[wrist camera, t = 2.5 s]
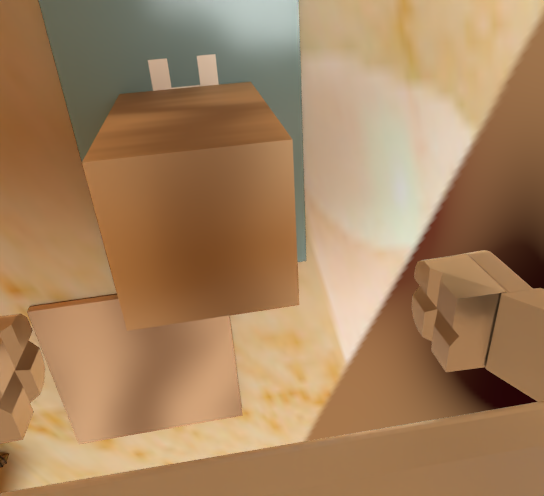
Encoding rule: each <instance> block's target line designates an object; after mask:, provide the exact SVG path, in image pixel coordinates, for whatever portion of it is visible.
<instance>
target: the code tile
mask: <svg viewBox="0 0 544 496" xmlns="http://www.w3.org/2000/svg"><path fill="white" fill-rule="evenodd" d="M38 1H39V5H40V8H41V12H42V16H43V20H44V23H45V27H46V31H47V34H48V38H49V42H50V46H51V49H52V53H53V57H54V60H55V64H56V68H57V72H58V75H59V79H60V83H61V87H62V90H63V94H64V98H65V101H66V105H67V109H68V113H69V116H70V120H71V124H72V127H73V131H74V135H75V139H76V142H77V146H78V150H79V153H80V157H81V161H83V159H84V158H85V156H86V154H87V152H88V150H89V149H90V147H91V145H92V143H93V141H94V139H95V138H96V136H97V134H98V132H99V130H100V129H101V127H102V125H103V123H104V121H105V120H106V118H107V116H108V114H109V112H110V110H111V109H112V107H113V105H114V103H115V101H116V100H117V98H118V96H119V94H125V93H135V92H146V91H157V90H167V89H178V88H188V87H199V86H209V85H220V84H231V83H241V82H251V83H252V84H253V85H254V87H255V88H256V90H257V91H258V92H259V94H260V95H261V96H262V98H263V99H264V101H265V102H266V103H267V105H268V106H269V108H270V109H271V110H272V112H273V113H274V114H275V116H276V117H277V119H278V120H279V121H280V123H281V124H282V125H283V127H284V128H285V130H286V131H287V132H288V134H289V135H290V137H291V138H292V139H293V163H294V188H295V214H296V239H297V262H302V261H306V236H305V202H304V168H303V133H302V99H301V65H300V31H299V0H38Z"/></svg>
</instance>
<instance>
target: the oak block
mask: <svg viewBox="0 0 544 496" xmlns="http://www.w3.org/2000/svg"><path fill="white" fill-rule="evenodd" d="M82 165H83V169H84V173H85V176H86V180H87V184H88V188H89V191H90V195H91V199H92V202H93V206H94V210H95V214H96V217H97V221H98V225H99V229H100V232H101V236H102V240H103V243H104V247H105V251H106V255H107V258H108V262H109V266H110V269H111V273H112V277H113V281H114V284H115V288H116V292H117V295H118V299H119V303H120V307H121V310H122V314H123V318H124V321H125V325H126V329H127V331H130V330H136V329H143V328H150V327H156V326H163V325H169V324H176V323H183V322H189V321H196V320H203V319H209V318H216V317H222V316H229V315H236V314H242V313H249V312H256V311H262V310H269V309H275V308H282V307H289V306H295V305H299V289H298V264H297V239H296V214H295V188H294V163H293V139H292V138H291V137H290V135H289V134H288V132H287V131H286V130H285V128H284V127H283V125H282V124H281V123H280V121H279V120H278V119H277V117H276V116H275V114H274V113H273V112H272V110H271V109H270V108H269V106H268V105H267V103H266V102H265V101H264V99H263V98H262V96H261V95H260V94H259V92H258V91H257V90H256V88H255V87H254V85H253V84H252V83H251V82H241V83H231V84H220V85H209V86H199V87H188V88H178V89H167V90H157V91H146V92H135V93H125V94H119V96H118V98H117V100H116V101H115V103H114V105H113V107H112V109H111V110H110V112H109V114H108V116H107V118H106V120H105V121H104V123H103V125H102V127H101V129H100V130H99V132H98V134H97V136H96V138H95V139H94V141H93V143H92V145H91V147H90V149H89V150H88V152H87V154H86V156H85V158H84V159H83V161H82Z"/></svg>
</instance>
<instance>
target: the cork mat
mask: <svg viewBox="0 0 544 496" xmlns="http://www.w3.org/2000/svg"><path fill="white" fill-rule="evenodd" d="M27 313H28V315H29V318H30V320H31V323H32V326H33V328H34V331H35V333H36V336H37V338H38V341H39V343H40V346H41V349H42V351H43V354H44V356H45V359H46V361H47V364H48V367H49V369H50V372H51V374H52V377H53V379H54V382H55V384H56V387H57V390H58V392H59V395H60V397H61V400H62V402H63V405H64V407H65V410H66V413H67V415H68V418H69V420H70V423H71V425H72V428H73V430H74V433H75V436H76V438H77V441H78V443H79V444H83V443H89V442H94V441H100V440H106V439H111V438H117V437H123V436H128V435H134V434H140V433H145V432H151V431H157V430H162V429H168V428H174V427H179V426H185V425H191V424H196V423H202V422H208V421H214V420H219V419H225V418H231V417H236V416H242V408H241V401H240V393H239V386H238V378H237V370H236V363H235V355H234V347H233V340H232V332H231V324H230V317H229V316H222V317H216V318H209V319H203V320H196V321H189V322H183V323H176V324H169V325H163V326H156V327H150V328H143V329H136V330H130V331H127V329H126V325H125V321H124V318H123V314H122V310H121V307H120V303H119V299H118V295H117V294H116V295H109V296H102V297H95V298H88V299H81V300H74V301H67V302H60V303H53V304H45V305H38V306H31V307H29V309H28V311H27Z"/></svg>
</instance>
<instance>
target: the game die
mask: <svg viewBox="0 0 544 496" xmlns="http://www.w3.org/2000/svg"><path fill="white" fill-rule="evenodd" d="M8 455H9V454H6V455H2V456H0V467H3V465H4V464H6V463H7V458H8Z"/></svg>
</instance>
